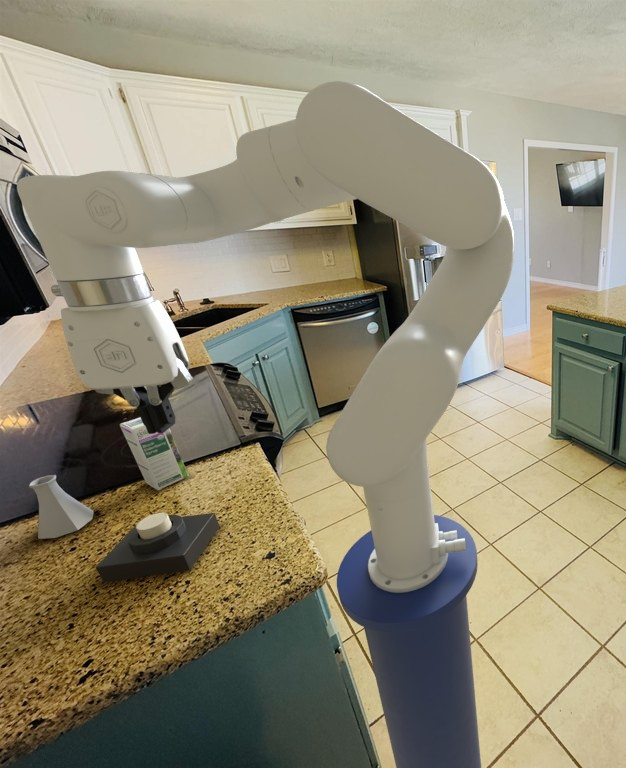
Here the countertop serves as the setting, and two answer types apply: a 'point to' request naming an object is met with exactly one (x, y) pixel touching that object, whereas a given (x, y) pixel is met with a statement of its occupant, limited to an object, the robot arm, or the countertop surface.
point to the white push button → (153, 526)
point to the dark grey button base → (160, 549)
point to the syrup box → (154, 454)
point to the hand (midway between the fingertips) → (162, 428)
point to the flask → (58, 509)
